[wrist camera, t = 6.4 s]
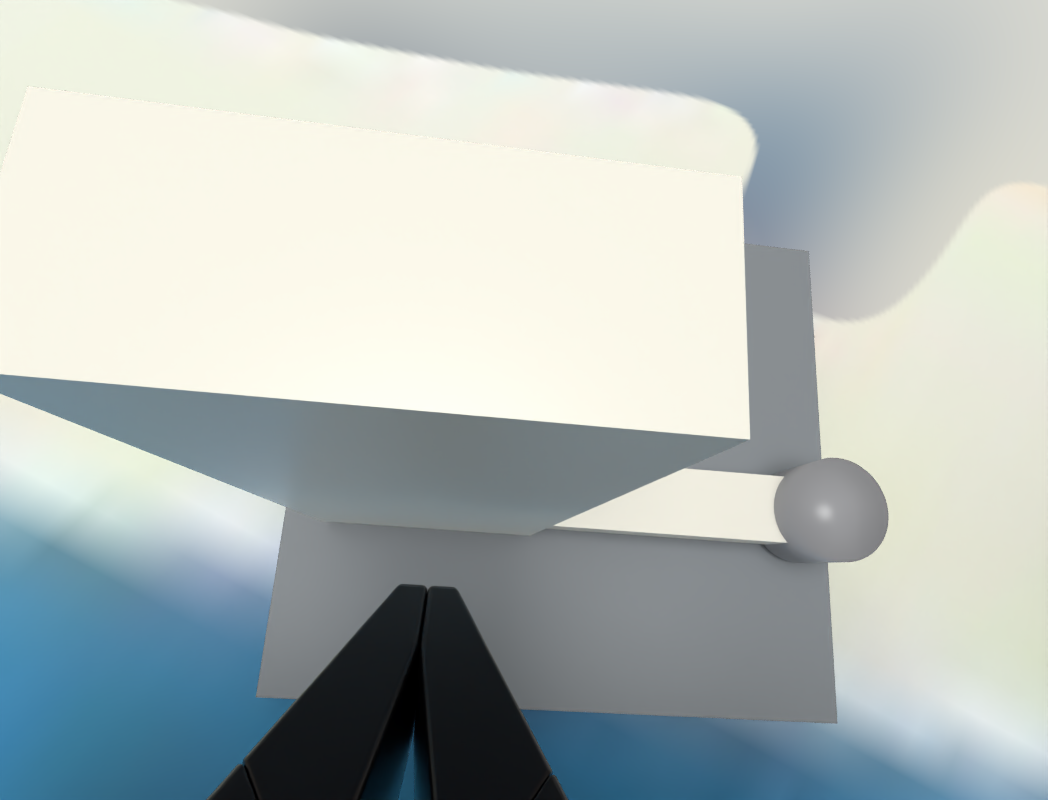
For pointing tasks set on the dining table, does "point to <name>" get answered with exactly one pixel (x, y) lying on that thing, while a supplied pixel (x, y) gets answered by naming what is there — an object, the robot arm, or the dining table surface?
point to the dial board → (607, 575)
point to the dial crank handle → (399, 325)
